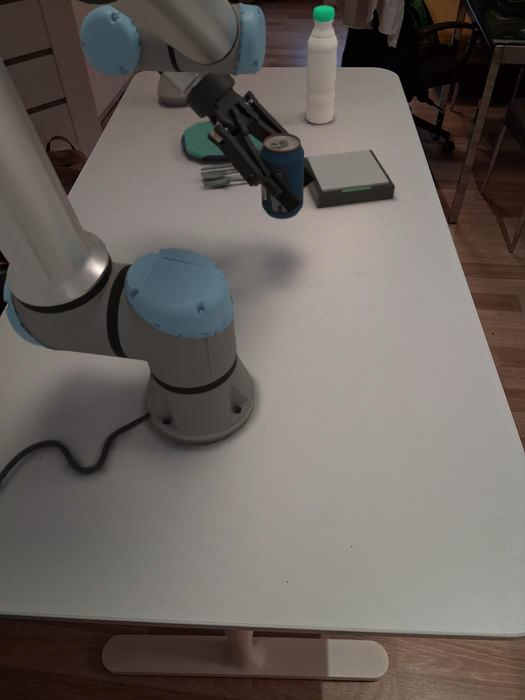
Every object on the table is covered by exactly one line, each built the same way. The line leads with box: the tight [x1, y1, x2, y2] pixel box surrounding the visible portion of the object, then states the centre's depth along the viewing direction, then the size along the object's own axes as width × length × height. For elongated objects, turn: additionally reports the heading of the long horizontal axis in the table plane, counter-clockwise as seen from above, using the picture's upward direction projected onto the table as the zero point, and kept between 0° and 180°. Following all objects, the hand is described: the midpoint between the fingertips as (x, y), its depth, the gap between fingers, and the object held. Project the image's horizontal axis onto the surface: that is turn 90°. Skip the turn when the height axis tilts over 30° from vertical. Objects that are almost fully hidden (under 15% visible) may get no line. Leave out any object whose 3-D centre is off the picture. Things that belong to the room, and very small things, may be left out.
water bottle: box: [305, 5, 339, 125], centre depth 129 cm, size 7×7×25 cm
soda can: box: [259, 133, 305, 220], centre depth 86 cm, size 7×7×12 cm
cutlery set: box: [180, 120, 263, 188], centre depth 126 cm, size 20×30×2 cm, turn 9°
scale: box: [304, 149, 396, 209], centre depth 115 cm, size 16×16×3 cm
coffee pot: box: [156, 74, 188, 107], centre depth 144 cm, size 21×12×15 cm, turn 86°
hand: (302, 194), depth 87 cm, fingers closed on soda can, 7 cm apart
